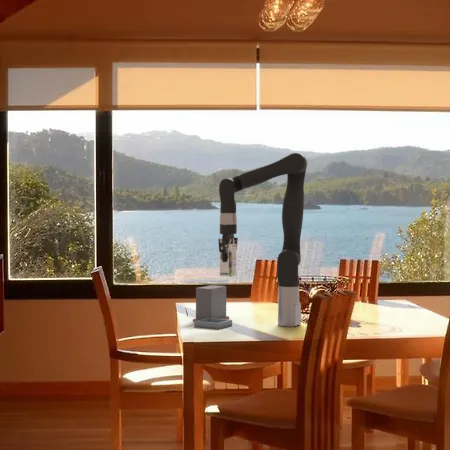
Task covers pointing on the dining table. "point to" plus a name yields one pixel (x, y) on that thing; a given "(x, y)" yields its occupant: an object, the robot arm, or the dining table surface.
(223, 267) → the syrup box
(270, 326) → the dining table surface
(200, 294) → the mounted unit
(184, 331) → the dining table surface
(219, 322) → the tray
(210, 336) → the dining table surface
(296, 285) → the robot arm
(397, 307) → the dining table surface
